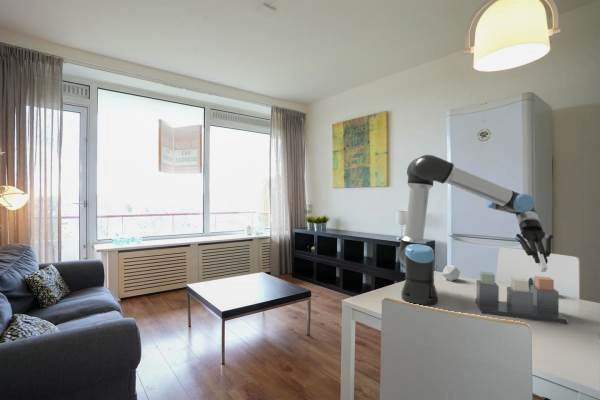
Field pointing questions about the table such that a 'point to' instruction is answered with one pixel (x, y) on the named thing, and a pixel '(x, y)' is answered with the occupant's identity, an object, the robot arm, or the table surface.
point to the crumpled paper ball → (451, 273)
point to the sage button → (487, 278)
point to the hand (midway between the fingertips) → (544, 269)
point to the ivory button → (519, 284)
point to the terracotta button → (544, 283)
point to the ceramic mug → (531, 282)
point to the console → (520, 303)
